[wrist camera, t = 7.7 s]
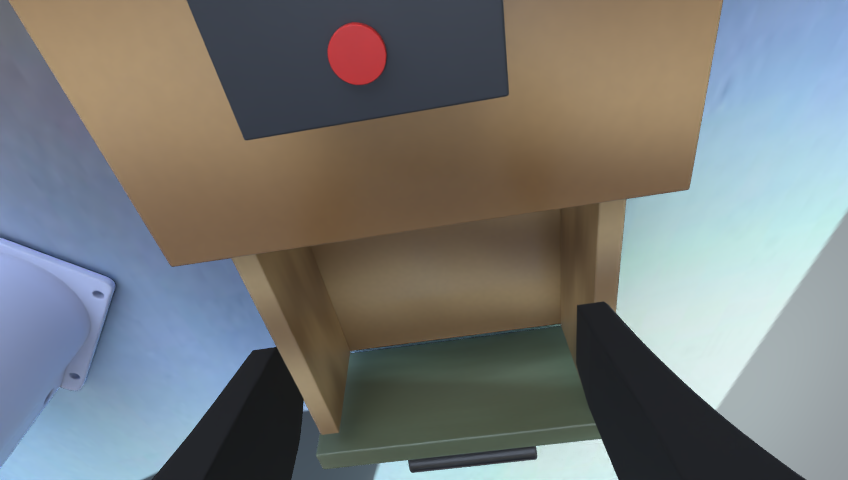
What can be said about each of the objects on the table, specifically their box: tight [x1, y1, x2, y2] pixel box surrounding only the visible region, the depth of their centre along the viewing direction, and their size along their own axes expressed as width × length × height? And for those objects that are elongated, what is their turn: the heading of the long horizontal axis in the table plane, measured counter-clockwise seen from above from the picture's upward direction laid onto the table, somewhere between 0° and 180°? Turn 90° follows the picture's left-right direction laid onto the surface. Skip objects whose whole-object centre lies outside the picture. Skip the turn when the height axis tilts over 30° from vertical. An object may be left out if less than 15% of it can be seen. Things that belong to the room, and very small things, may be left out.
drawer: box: [232, 199, 626, 473], centre depth 20 cm, size 18×13×6 cm
